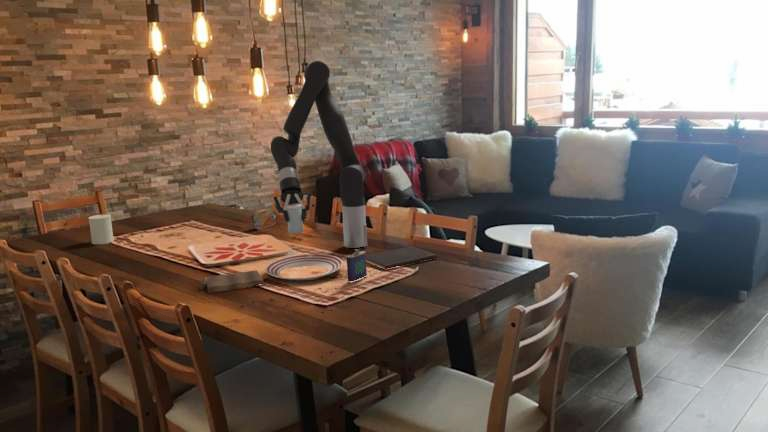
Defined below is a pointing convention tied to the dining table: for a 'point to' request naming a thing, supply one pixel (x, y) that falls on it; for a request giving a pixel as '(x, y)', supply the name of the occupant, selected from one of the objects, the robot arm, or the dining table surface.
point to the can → (101, 229)
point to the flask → (356, 265)
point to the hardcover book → (399, 257)
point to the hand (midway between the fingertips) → (295, 220)
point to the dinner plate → (305, 264)
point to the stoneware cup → (295, 218)
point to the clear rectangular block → (263, 219)
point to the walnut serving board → (231, 281)
